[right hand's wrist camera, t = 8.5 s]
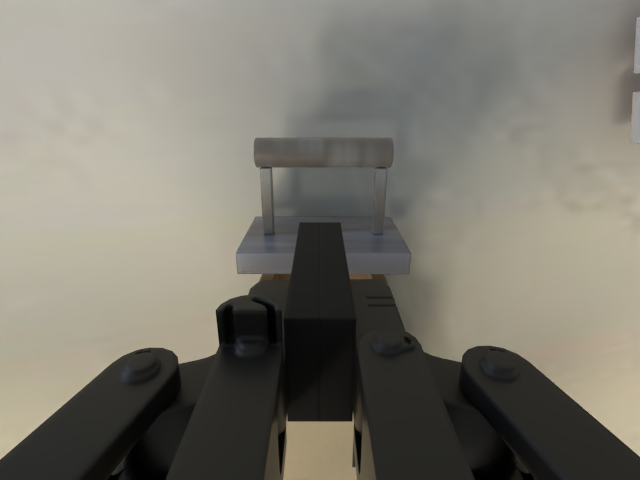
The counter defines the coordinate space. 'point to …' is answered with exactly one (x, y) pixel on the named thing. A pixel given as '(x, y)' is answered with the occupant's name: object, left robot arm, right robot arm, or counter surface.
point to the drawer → (358, 232)
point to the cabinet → (319, 451)
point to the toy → (639, 98)
